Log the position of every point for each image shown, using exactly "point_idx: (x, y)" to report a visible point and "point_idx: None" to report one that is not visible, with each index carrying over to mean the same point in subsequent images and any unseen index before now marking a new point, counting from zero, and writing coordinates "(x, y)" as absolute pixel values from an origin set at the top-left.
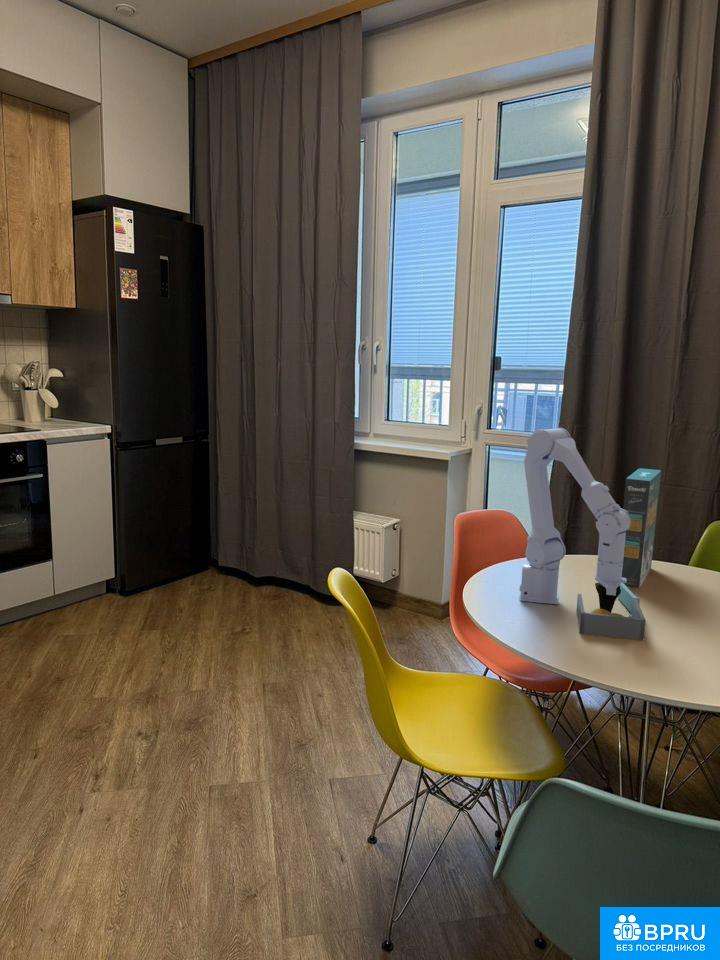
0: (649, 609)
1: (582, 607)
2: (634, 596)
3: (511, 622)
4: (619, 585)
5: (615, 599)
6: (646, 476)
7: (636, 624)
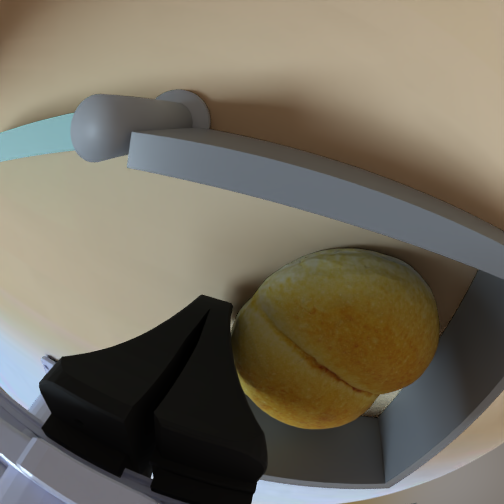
0: (72, 28)
1: (331, 485)
2: (49, 129)
3: (282, 491)
4: (76, 398)
5: (239, 385)
6: None
7: None
